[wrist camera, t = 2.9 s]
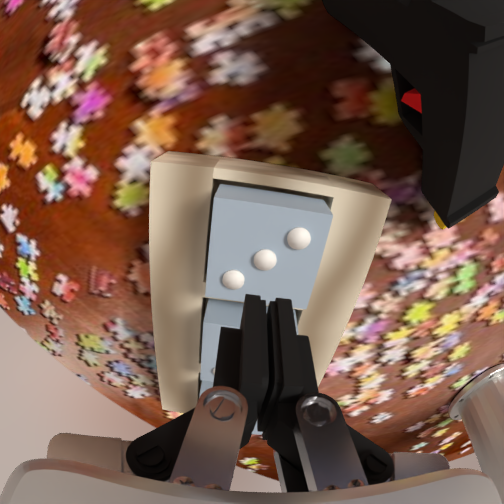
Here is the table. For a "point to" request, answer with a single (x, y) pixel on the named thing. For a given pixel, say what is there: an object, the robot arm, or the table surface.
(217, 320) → the tile two
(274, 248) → the tile three
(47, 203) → the table surface
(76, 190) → the table surface
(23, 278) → the table surface
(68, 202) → the table surface
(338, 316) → the board
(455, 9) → the toy gun
